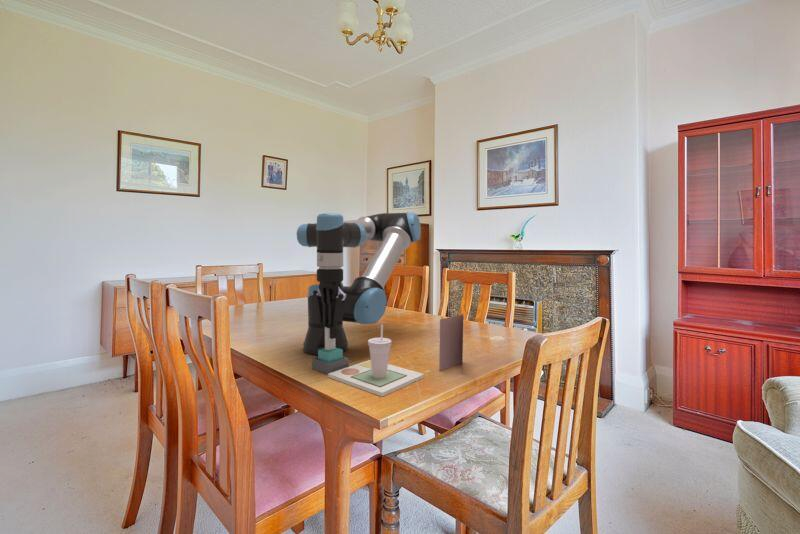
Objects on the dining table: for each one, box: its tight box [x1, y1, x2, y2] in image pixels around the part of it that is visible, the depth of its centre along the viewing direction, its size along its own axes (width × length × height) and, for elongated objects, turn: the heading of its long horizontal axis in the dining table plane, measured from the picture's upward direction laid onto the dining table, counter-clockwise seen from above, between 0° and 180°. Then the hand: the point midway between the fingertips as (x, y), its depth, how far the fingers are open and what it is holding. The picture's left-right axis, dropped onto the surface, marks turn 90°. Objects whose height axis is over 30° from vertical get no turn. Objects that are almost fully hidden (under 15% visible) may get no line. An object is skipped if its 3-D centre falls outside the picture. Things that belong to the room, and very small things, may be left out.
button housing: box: [311, 356, 350, 375], centre depth 109 cm, size 7×7×3 cm
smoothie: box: [367, 324, 393, 379], centre depth 100 cm, size 6×6×14 cm
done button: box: [317, 348, 344, 363], centre depth 109 cm, size 5×5×3 cm
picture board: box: [327, 359, 425, 398], centre depth 102 cm, size 20×17×1 cm
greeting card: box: [438, 314, 464, 372], centre depth 110 cm, size 11×7×15 cm, turn 135°
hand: (330, 348), depth 109 cm, fingers closed
